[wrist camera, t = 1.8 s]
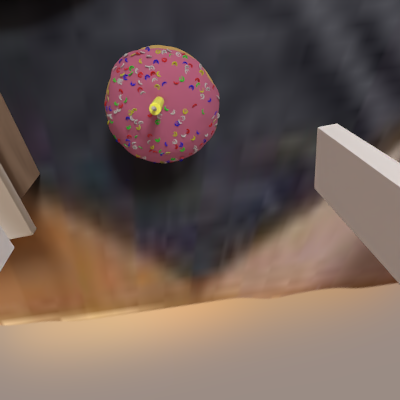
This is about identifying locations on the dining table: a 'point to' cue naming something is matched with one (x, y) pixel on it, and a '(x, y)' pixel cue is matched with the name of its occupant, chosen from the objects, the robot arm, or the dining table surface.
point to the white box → (14, 177)
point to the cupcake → (161, 104)
